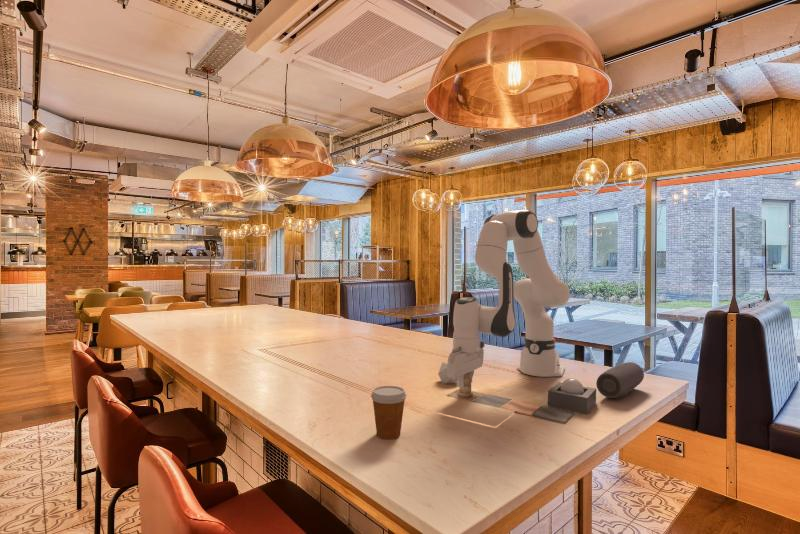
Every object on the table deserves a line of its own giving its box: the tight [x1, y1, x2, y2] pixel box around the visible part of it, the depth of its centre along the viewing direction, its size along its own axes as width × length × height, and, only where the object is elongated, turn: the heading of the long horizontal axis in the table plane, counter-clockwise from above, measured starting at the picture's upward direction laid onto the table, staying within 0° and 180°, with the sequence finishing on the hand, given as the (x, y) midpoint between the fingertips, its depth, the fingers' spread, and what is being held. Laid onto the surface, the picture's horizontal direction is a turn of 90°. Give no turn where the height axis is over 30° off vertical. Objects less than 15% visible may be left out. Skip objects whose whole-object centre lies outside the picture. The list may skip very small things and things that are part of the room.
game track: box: [445, 388, 575, 425], centre depth 142 cm, size 10×40×1 cm, turn 54°
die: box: [437, 361, 458, 385], centre depth 166 cm, size 8×9×10 cm
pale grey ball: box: [560, 377, 584, 395], centre depth 143 cm, size 7×7×7 cm
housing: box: [547, 382, 597, 415], centre depth 143 cm, size 12×12×5 cm
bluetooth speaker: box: [596, 361, 645, 399], centre depth 155 cm, size 23×9×10 cm, turn 135°
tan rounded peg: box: [457, 373, 474, 397], centre depth 151 cm, size 5×5×8 cm
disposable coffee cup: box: [370, 385, 407, 440], centre depth 118 cm, size 10×10×12 cm
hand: (465, 385), depth 151 cm, fingers closed on tan rounded peg, 4 cm apart
